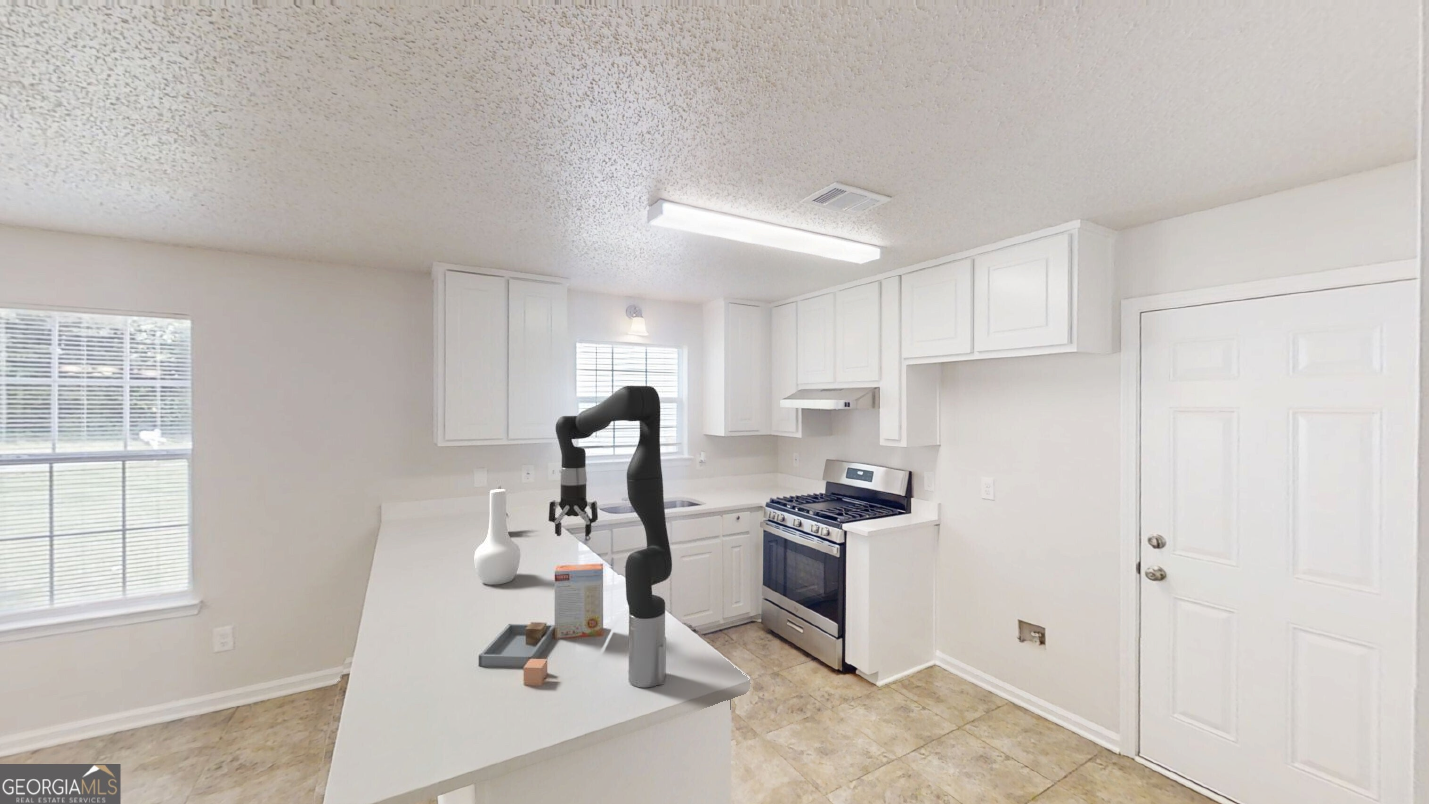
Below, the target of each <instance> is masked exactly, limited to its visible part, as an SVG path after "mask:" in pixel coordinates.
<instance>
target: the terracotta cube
mask: <svg viewBox="0 0 1429 804" xmlns="http://www.w3.org/2000/svg"><path fill="white" fill-rule="evenodd" d="M547 674H548V658H537V659H530V660H529V661H528V662H527V664H526V665H525V666H524V667H523V686H542V685H543V684H544V682H545V681H546V679H547V677H546V676H547Z"/></svg>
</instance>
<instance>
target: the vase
mask: <svg viewBox="0 0 1429 804" xmlns="http://www.w3.org/2000/svg"><path fill="white" fill-rule="evenodd" d="M506 513H507V490H506V489H500V488H499V489H498V488H497V489H491V490H490V491H489V520H488V521H489V522H488V523H489V524H488V531H487V536H486V539H485V540H484V542H482V543H481V544H480V545H479V546H478V547H477V549H475V552H474V557H473V558H474V559H473V560H474V566H475V570H476V574H477V576H478V578H479V580H480V582H481V583H483V584H484V585H487V586H488V585H489V586H492V585H495V586H496V585H503V584H506V583H509V582H511V581H512V580H513V579H514V578H515V576H516V574H517V573H518V570H519V567H520V563H521V562H520V561H521V549H520V546H519V544H518V543H517V542H515V541H514V540H512V538H511V537H510V534H509V532H508V525H507V524H508V522H507V518H506Z"/></svg>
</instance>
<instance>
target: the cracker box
mask: <svg viewBox="0 0 1429 804" xmlns="http://www.w3.org/2000/svg"><path fill="white" fill-rule="evenodd" d="M554 625H555V635H554V639H571V638H573V639H574V638H586V637H587V638H588V637H589V638H591V637H601V636H602V637H603V634H604V564H603V563H585V564H567V565H566V564H565V565H556V568H555V571H554Z"/></svg>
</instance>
